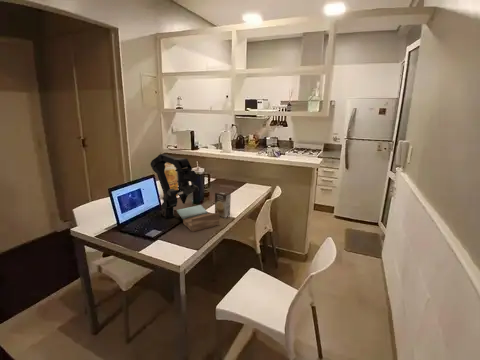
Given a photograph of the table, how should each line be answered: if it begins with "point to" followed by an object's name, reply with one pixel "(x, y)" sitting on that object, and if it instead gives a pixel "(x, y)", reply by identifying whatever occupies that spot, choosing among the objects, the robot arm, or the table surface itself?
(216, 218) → the brown wooden block
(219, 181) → the table surface
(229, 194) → the coffee box
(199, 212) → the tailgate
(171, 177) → the pancake mix bag
